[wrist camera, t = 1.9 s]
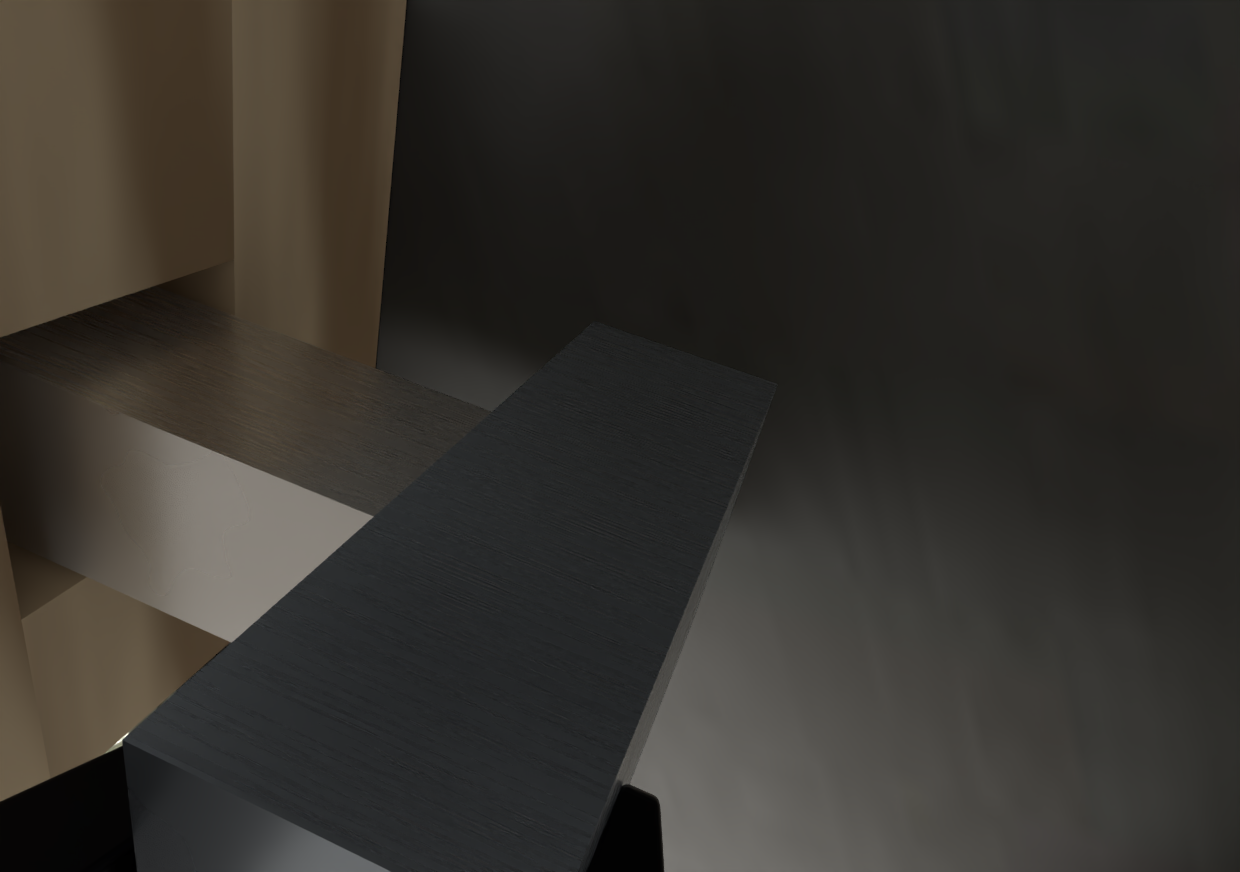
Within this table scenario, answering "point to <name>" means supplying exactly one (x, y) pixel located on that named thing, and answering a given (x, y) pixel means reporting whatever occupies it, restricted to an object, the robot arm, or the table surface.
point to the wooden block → (175, 265)
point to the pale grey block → (378, 577)
